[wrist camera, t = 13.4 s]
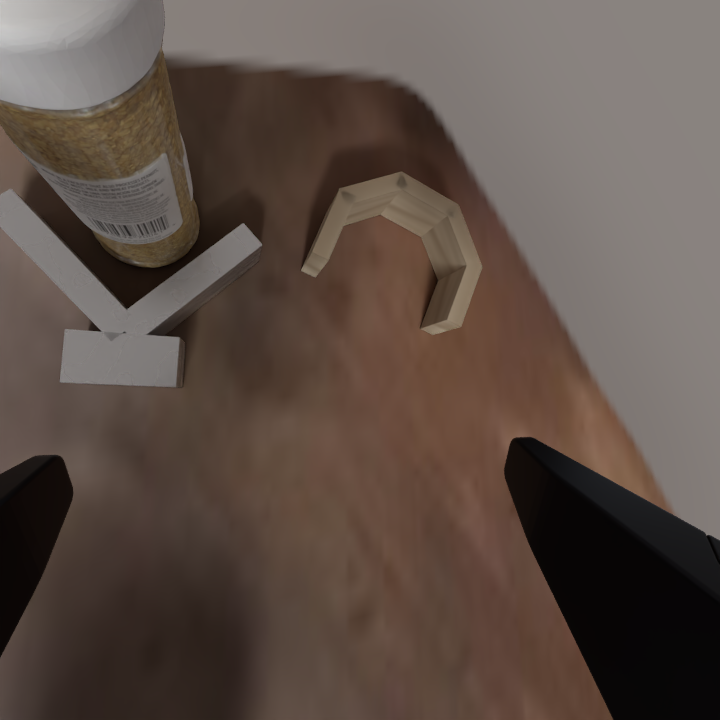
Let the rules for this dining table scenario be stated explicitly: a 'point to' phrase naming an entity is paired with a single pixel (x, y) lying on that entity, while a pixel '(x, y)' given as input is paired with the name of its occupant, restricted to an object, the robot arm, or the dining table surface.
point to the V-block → (117, 322)
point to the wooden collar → (424, 218)
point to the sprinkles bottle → (100, 120)
